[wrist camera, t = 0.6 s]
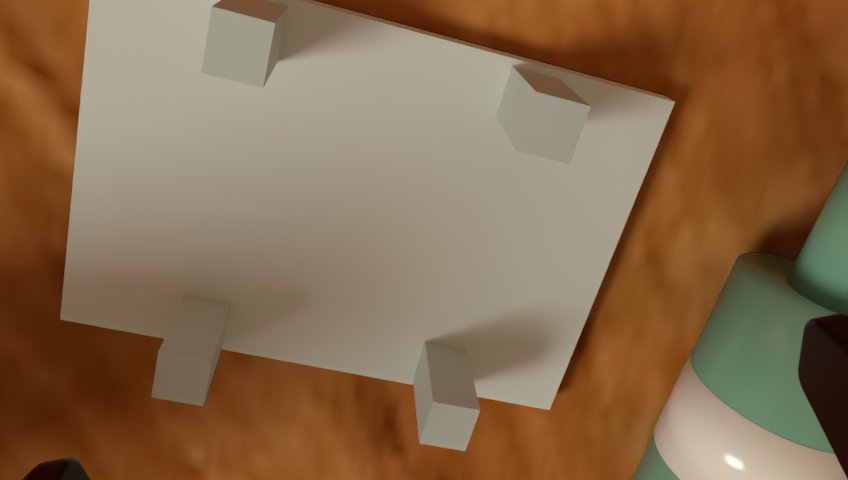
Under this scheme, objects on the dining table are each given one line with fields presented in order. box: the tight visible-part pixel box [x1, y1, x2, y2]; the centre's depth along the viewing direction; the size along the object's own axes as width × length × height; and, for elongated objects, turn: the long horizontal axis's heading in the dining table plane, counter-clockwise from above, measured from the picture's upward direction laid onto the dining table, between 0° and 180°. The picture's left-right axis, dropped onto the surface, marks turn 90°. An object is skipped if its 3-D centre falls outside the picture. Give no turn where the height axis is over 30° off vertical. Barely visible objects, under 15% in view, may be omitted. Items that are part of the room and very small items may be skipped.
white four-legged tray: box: [60, 0, 675, 451], centre depth 21 cm, size 16×11×4 cm
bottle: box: [631, 160, 848, 480], centre depth 23 cm, size 14×6×6 cm, turn 165°
